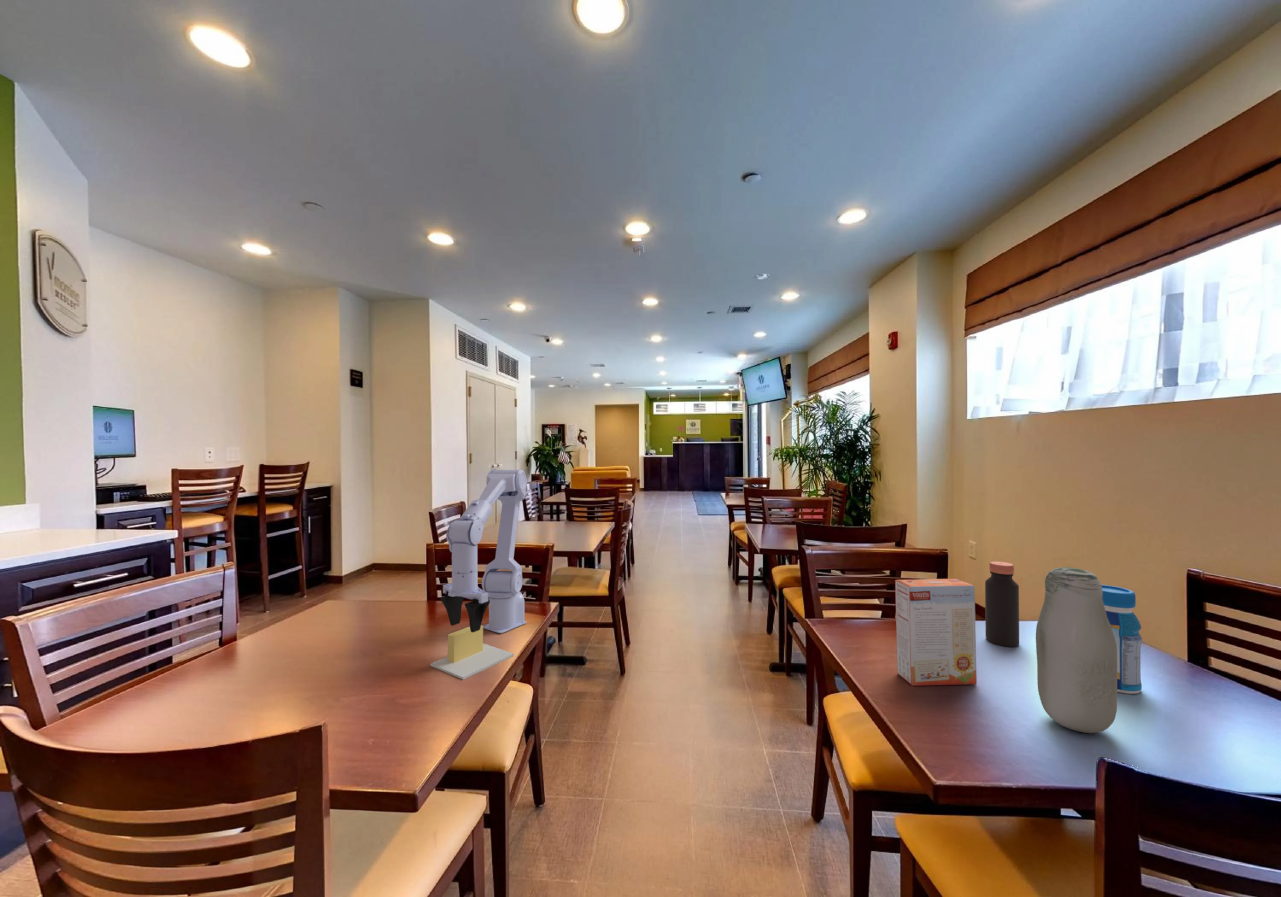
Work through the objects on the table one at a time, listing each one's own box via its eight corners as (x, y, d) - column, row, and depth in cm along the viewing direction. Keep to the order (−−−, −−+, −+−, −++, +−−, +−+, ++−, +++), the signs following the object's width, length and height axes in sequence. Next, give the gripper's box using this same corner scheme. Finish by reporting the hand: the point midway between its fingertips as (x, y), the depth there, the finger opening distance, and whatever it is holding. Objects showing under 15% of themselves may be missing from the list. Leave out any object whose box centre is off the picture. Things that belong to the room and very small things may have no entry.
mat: (481, 644, 118) (481, 642, 118) (513, 655, 112) (513, 653, 112) (430, 665, 106) (430, 663, 106) (463, 679, 100) (463, 677, 100)
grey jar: (1074, 710, 87) (1072, 561, 87) (1134, 744, 77) (1132, 575, 77) (1023, 711, 87) (1021, 561, 87) (1076, 746, 77) (1074, 576, 77)
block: (476, 648, 115) (476, 623, 115) (483, 650, 114) (483, 625, 114) (447, 660, 108) (447, 634, 108) (454, 662, 107) (454, 636, 107)
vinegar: (1026, 647, 115) (1025, 566, 115) (998, 647, 115) (997, 566, 115) (1005, 636, 122) (1004, 560, 122) (979, 636, 122) (978, 560, 122)
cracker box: (957, 672, 102) (956, 577, 103) (978, 686, 96) (977, 585, 97) (894, 673, 102) (894, 577, 102) (911, 686, 96) (910, 585, 96)
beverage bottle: (1150, 699, 91) (1149, 597, 91) (1091, 688, 95) (1090, 590, 95) (1133, 681, 98) (1132, 586, 98) (1079, 671, 102) (1078, 581, 103)
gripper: (431, 570, 111) (431, 626, 111) (469, 579, 103) (470, 640, 103) (457, 563, 117) (457, 617, 117) (495, 572, 109) (495, 629, 109)
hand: (465, 627), depth 111 cm, fingers open, 7 cm apart
